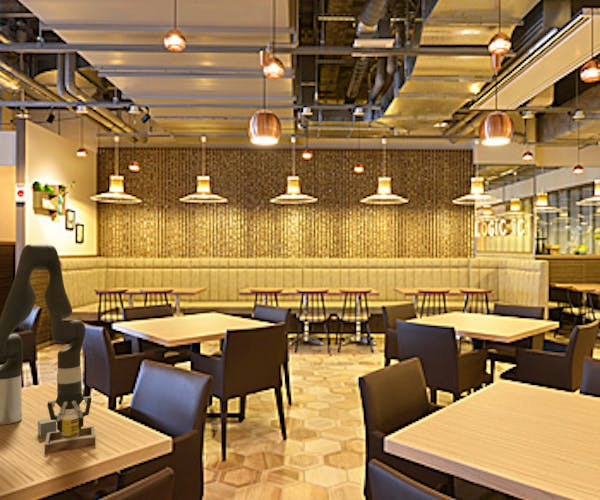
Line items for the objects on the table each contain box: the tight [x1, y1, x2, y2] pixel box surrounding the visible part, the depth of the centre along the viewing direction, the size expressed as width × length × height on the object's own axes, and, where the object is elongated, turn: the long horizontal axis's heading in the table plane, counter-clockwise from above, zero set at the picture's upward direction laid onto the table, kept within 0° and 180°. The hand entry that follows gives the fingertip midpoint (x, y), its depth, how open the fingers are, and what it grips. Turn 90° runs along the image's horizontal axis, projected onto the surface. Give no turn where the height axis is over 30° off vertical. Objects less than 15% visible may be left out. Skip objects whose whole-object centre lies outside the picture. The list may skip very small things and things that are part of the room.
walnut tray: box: [44, 425, 96, 455], centre depth 171 cm, size 15×12×3 cm
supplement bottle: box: [61, 409, 79, 439], centre depth 171 cm, size 5×5×10 cm
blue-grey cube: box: [37, 417, 58, 439], centre depth 180 cm, size 5×5×5 cm
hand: (70, 429), depth 171 cm, fingers closed on supplement bottle, 5 cm apart
